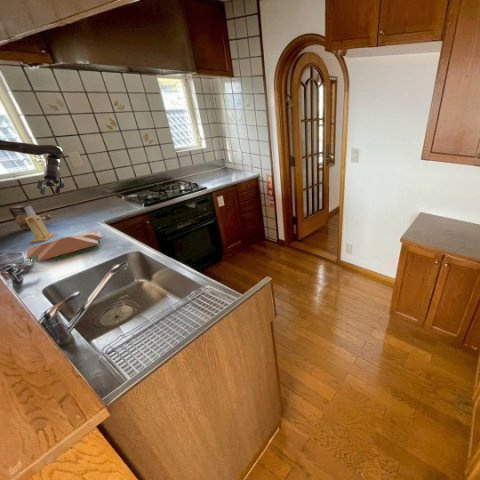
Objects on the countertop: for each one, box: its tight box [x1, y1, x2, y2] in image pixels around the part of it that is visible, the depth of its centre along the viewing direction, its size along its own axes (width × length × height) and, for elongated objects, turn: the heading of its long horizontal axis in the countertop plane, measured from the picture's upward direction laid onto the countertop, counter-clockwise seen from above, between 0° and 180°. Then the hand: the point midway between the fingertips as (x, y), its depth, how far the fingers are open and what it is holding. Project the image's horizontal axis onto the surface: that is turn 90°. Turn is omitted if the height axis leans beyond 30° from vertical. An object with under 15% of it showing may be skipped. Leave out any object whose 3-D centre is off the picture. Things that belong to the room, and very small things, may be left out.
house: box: [26, 231, 103, 262], centre depth 150 cm, size 23×33×8 cm
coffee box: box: [8, 204, 37, 231], centre depth 180 cm, size 9×6×16 cm
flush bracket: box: [25, 214, 57, 243], centre depth 164 cm, size 10×8×15 cm
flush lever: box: [29, 214, 52, 222], centre depth 167 cm, size 14×4×4 cm, turn 12°
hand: (49, 193), depth 177 cm, fingers open, 8 cm apart
